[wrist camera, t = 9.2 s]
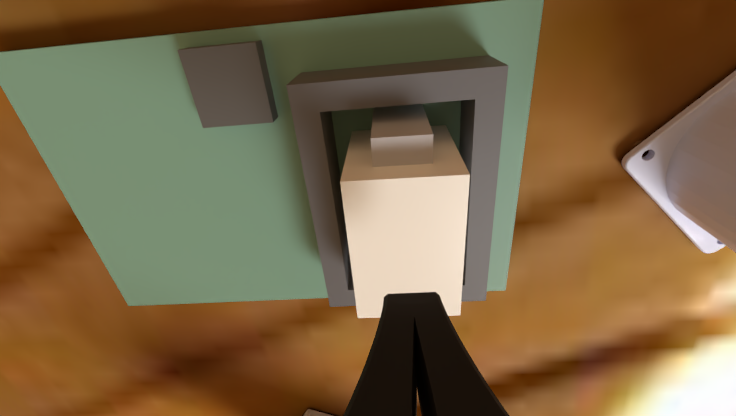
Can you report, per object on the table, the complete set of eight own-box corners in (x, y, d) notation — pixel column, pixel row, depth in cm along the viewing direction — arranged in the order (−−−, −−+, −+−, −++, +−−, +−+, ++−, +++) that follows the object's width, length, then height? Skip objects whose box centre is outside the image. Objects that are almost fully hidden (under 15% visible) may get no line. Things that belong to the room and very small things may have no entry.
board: (534, -4, 14) (577, -5, 11) (500, 278, 21) (520, 326, 18) (4, 51, 15) (-88, 63, 12) (138, 294, 22) (100, 340, 19)
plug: (442, 240, 18) (460, 315, 14) (363, 244, 19) (357, 317, 14) (446, 101, 15) (472, 143, 10) (349, 108, 15) (335, 151, 11)
